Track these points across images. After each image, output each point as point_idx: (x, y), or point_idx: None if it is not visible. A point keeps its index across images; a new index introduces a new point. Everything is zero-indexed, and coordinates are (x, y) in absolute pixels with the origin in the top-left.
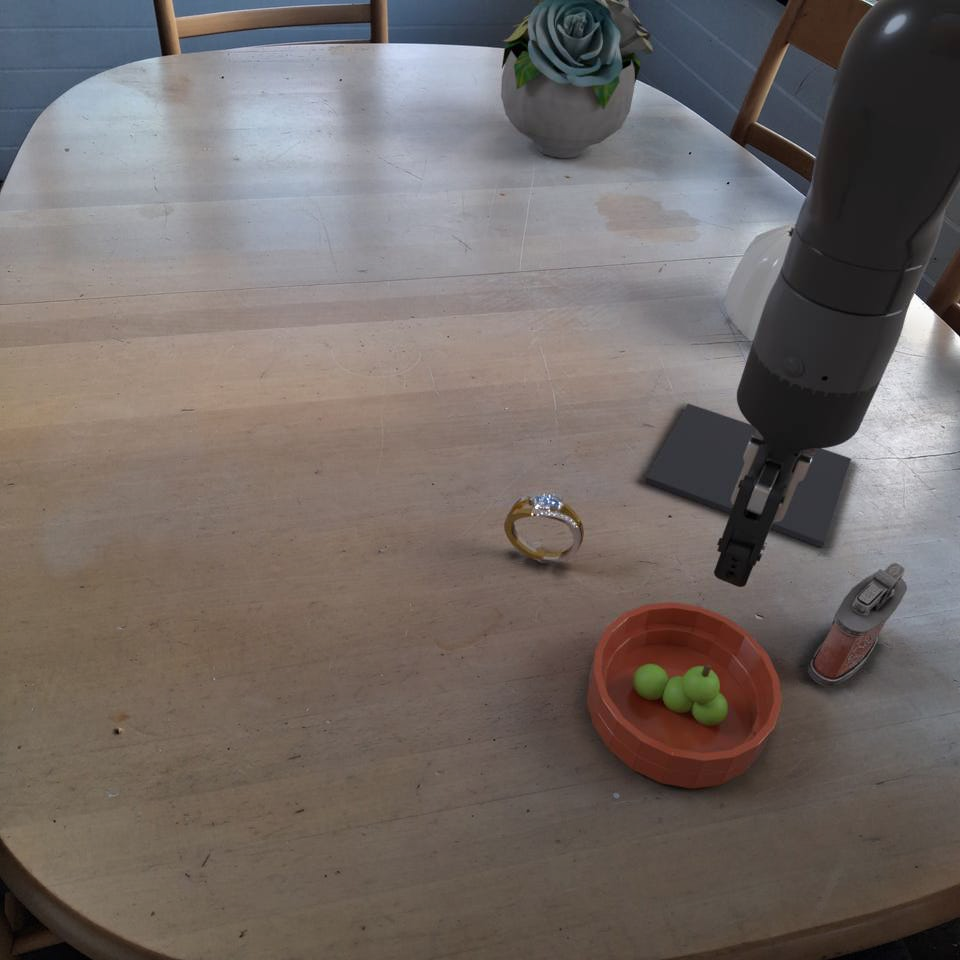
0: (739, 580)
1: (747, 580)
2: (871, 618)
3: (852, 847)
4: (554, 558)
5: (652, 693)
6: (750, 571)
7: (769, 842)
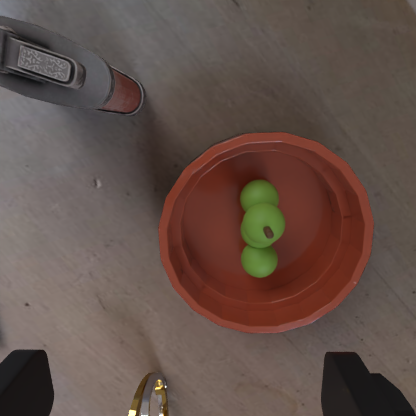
0: (406, 400)
1: (360, 365)
2: (70, 54)
3: (326, 12)
4: (160, 380)
5: (276, 254)
6: (384, 401)
7: (357, 94)
